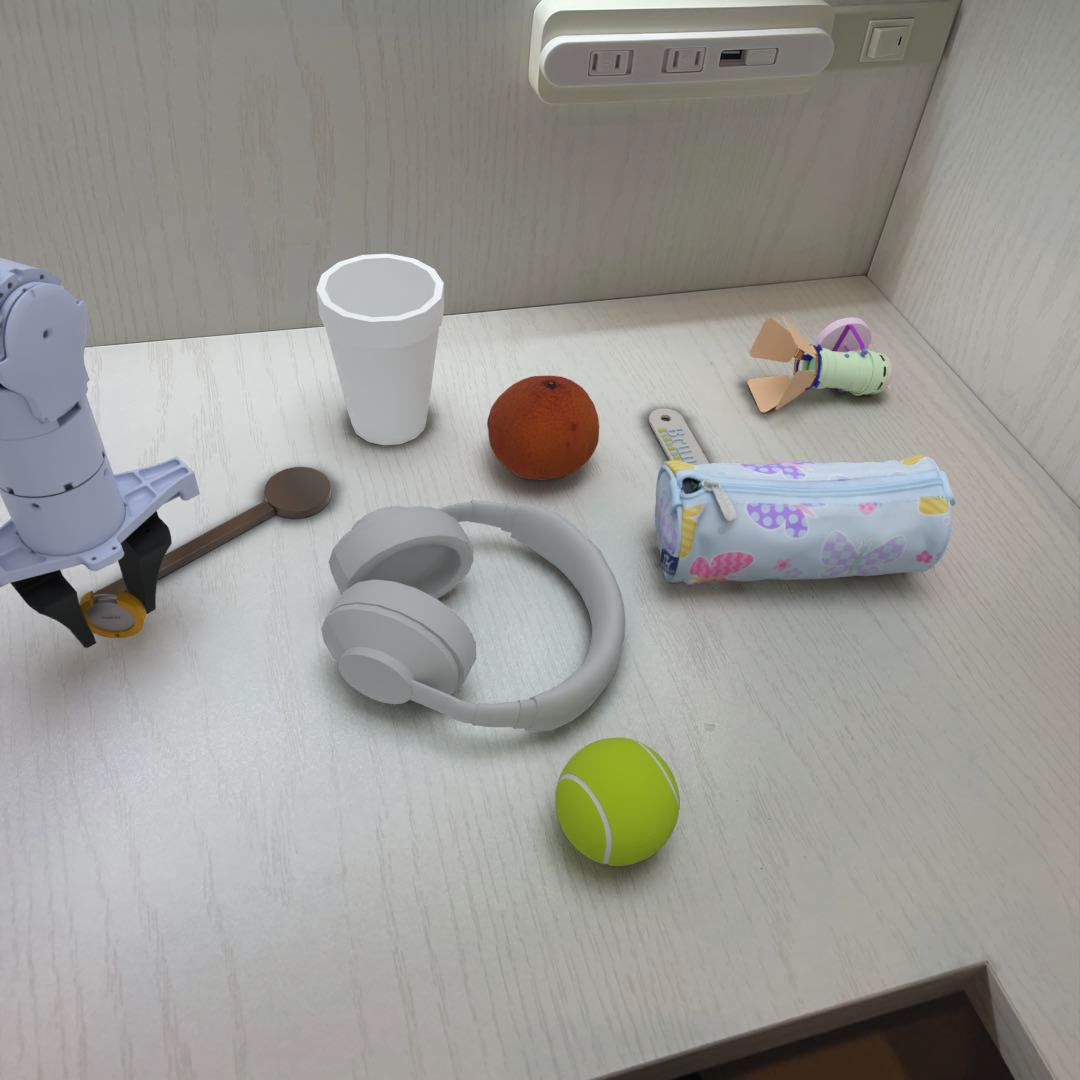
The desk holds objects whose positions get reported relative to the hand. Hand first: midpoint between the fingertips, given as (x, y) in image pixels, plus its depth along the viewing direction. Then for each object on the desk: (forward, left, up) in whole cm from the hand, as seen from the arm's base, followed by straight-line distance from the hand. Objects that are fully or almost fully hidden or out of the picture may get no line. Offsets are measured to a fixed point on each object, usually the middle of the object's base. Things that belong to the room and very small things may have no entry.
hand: (113, 620), depth 62 cm
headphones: (+18, -15, -3) cm, 24 cm away
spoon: (+10, +5, -3) cm, 11 cm away
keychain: (+44, -12, -3) cm, 46 cm away
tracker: (0, 0, -2) cm, 2 cm away
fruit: (+34, -5, -3) cm, 35 cm away
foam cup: (+28, +7, -3) cm, 29 cm away
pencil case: (+40, -25, -3) cm, 47 cm away
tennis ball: (+14, -31, -3) cm, 34 cm away
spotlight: (+60, -15, -3) cm, 62 cm away
